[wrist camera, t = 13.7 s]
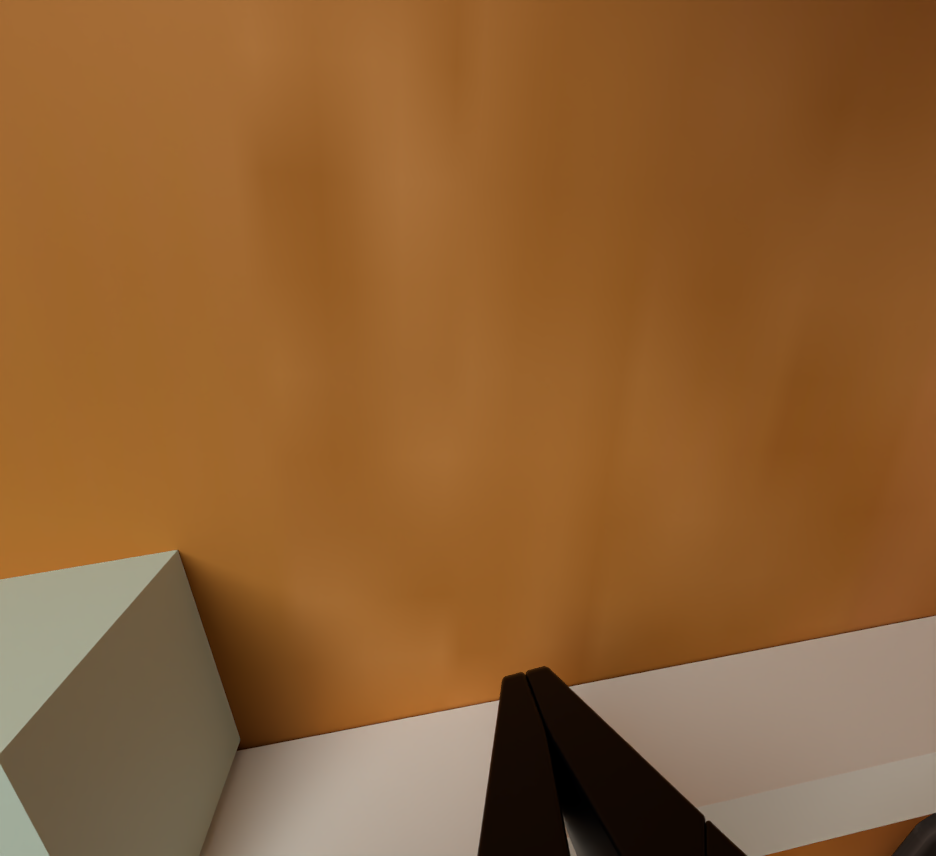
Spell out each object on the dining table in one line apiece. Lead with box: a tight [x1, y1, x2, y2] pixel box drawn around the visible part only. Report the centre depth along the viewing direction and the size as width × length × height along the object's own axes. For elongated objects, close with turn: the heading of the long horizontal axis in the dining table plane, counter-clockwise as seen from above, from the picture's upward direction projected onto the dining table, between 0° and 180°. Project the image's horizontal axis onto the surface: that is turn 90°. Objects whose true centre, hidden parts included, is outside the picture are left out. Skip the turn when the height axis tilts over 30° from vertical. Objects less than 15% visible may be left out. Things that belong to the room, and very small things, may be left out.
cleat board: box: [199, 616, 936, 856], centre depth 10 cm, size 9×31×4 cm, turn 95°
